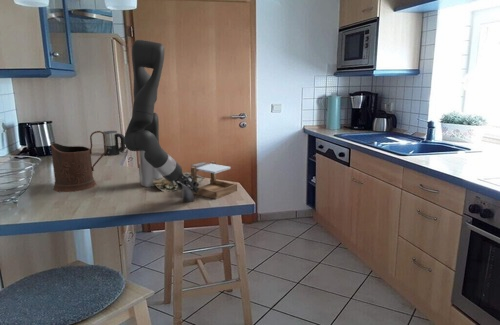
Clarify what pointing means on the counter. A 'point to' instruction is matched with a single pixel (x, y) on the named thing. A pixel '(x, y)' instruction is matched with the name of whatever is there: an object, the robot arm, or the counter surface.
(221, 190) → the stand
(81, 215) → the counter surface
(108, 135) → the milk frother
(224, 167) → the trapdoor
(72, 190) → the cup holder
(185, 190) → the cylinder
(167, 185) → the rock
